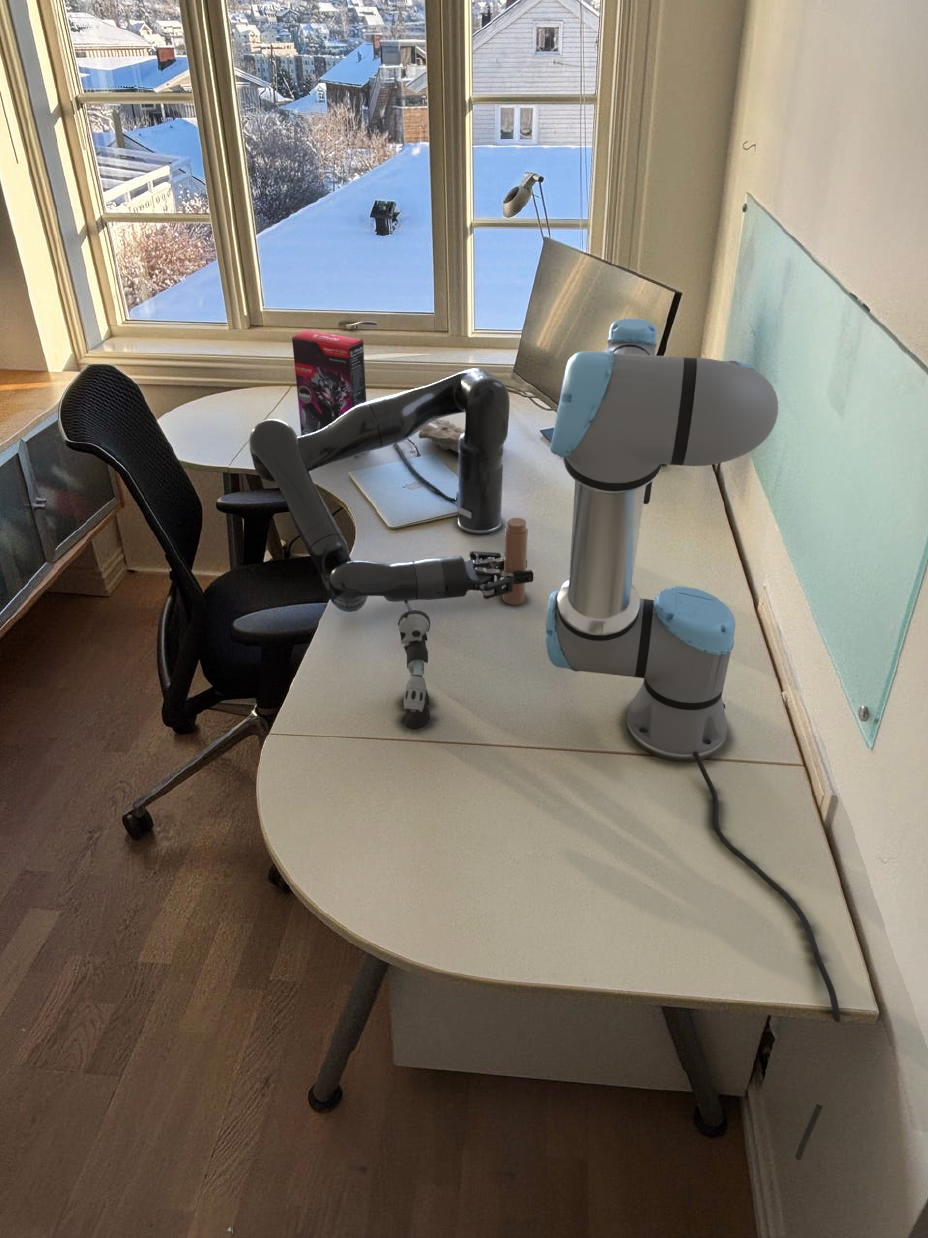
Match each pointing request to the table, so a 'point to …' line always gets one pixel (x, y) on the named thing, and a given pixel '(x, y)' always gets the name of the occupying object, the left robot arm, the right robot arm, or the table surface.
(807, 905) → the table surface
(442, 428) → the stone
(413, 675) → the robot
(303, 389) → the graphics card box
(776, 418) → the right robot arm
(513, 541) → the jar
